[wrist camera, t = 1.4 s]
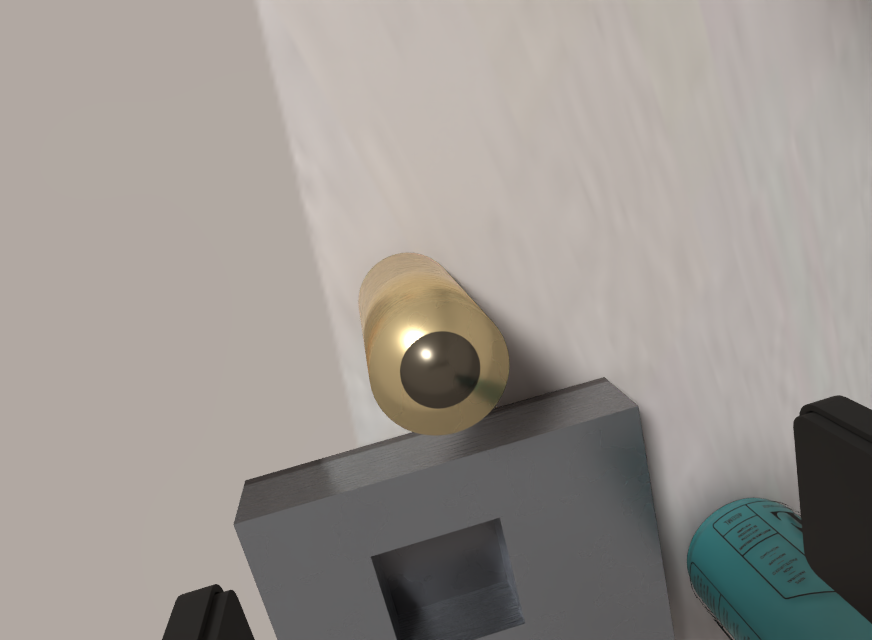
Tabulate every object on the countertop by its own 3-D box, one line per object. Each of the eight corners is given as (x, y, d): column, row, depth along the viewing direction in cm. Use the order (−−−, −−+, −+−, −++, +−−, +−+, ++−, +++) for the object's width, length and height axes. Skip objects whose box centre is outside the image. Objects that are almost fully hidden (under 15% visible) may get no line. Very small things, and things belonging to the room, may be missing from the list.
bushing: (347, 267, 27) (352, 323, 18) (443, 241, 27) (493, 284, 18) (372, 358, 28) (389, 452, 19) (464, 333, 28) (521, 414, 20)
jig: (245, 480, 28) (233, 524, 25) (604, 377, 30) (638, 406, 26) (332, 717, 32) (332, 782, 29) (645, 616, 34) (679, 667, 30)
